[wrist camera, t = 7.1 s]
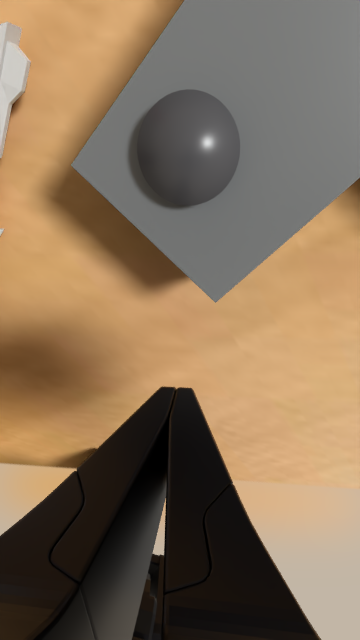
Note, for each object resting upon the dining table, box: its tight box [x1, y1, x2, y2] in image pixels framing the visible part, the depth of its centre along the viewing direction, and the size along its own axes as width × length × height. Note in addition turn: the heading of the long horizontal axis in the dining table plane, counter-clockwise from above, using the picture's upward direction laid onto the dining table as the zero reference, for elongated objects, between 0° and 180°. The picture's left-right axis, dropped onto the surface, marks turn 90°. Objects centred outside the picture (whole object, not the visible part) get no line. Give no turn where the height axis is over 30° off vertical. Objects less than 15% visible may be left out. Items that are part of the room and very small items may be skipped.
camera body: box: [71, 0, 360, 303], centre depth 13 cm, size 8×12×6 cm
